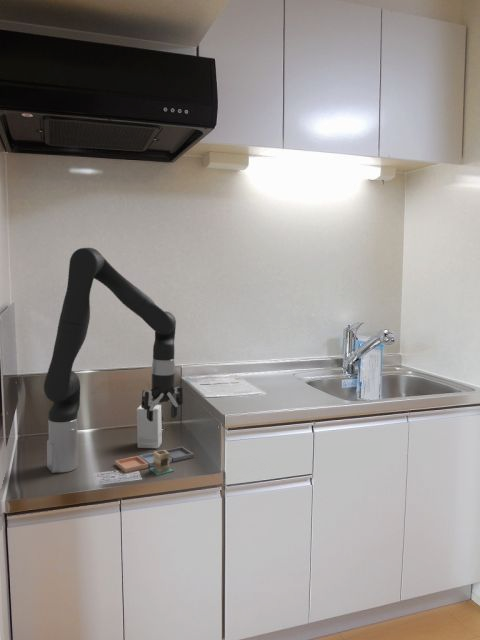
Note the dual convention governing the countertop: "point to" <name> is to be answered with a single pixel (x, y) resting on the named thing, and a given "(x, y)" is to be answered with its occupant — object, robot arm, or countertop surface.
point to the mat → (161, 472)
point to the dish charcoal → (180, 454)
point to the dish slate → (150, 459)
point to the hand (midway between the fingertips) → (161, 419)
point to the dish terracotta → (131, 464)
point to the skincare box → (149, 428)
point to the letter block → (161, 461)
